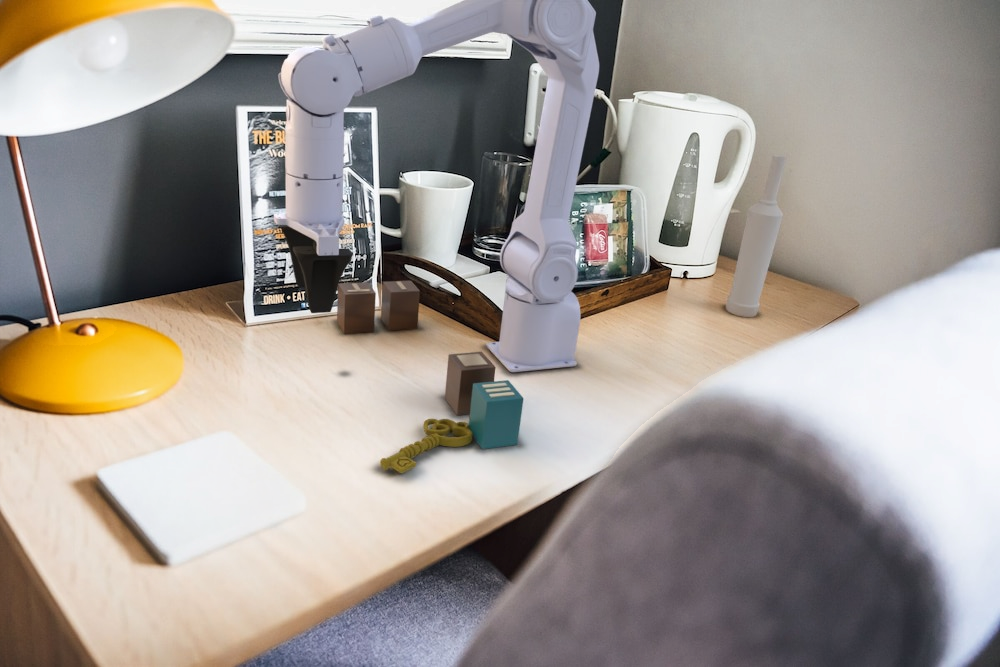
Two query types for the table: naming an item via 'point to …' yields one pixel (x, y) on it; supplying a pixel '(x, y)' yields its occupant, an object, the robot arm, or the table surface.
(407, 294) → the tile
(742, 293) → the bottle
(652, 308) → the table surface
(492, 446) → the teal rectangular block
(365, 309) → the tile
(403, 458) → the key
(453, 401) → the brown tall block
